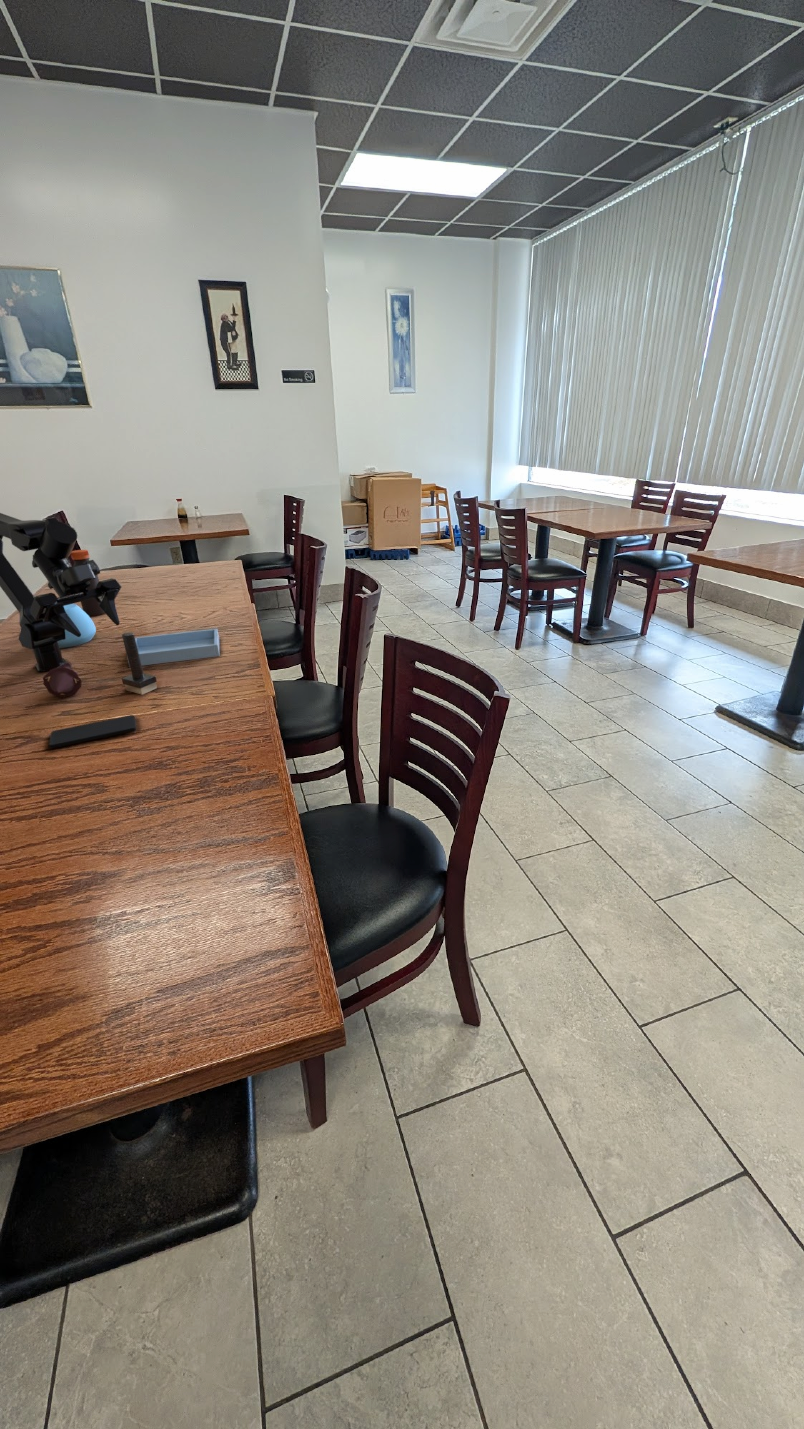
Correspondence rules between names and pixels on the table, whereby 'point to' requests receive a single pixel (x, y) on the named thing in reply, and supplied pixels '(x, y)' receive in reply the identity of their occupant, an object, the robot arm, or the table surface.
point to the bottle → (90, 605)
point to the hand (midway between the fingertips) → (99, 630)
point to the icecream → (62, 681)
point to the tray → (178, 646)
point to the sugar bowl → (82, 624)
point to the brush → (136, 669)
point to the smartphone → (92, 731)
